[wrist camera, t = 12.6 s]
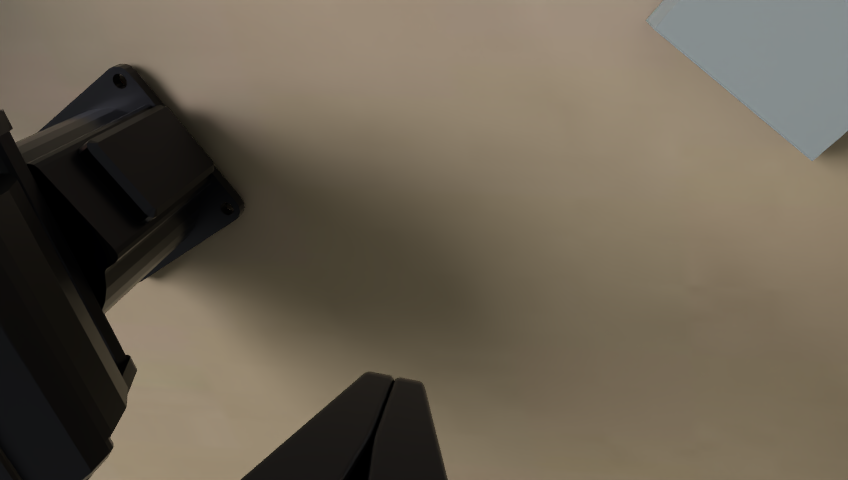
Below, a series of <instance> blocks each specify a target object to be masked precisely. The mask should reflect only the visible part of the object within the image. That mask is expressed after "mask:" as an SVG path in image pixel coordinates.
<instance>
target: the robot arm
mask: <svg viewBox="0 0 848 480" xmlns="http://www.w3.org/2000/svg"><path fill="white" fill-rule="evenodd" d="M120 74H121V75H123V76H124V77H125V79H126V81H127V86H126V85H124V84H123V83H122V82H121V80H120ZM12 129H13V128H12V126H11V124H10V122H9V120H8V118H7V116H6V114H5V112H4V110H3V109H2V110H0V480H88V479H89V478H90V477H91V476H92V474H93V473H94V472H95V471H96V470H97V469H98V468H99V467H100V465H101V464H102V463H103V462H104V461H105V460H106V459H107V458H108V456H109V454H110V452H111V450H112V449H113V442H112V440H111V438H110V437H111V434H112V433H113V431H114V429H115V427H116V425H117V424H118V422H119V420H120V418H121V416H122V414H123V413H124V411H125V409H126V406H127V394H128V392H129V389H130V387H131V384H132V382H133V379H134V377H135V374H136V372H137V368H136V366H135V365H134V363H133V361H132V359H131V357H130V356H129V355H125V353H124V351H123V349H122V347H121V345H120V343H119V341H118V339H117V338H116V336H115V334H114V332H113V330H112V328H111V326H110V324H109V322H108V320H107V318H106V316H105V313H106V312H107V311H108V310H109V309H110V308H111V307H112V306H114V305H115V304H116V303H117V302H118V301H119V300H120V299H121V298H122V297H123V296H124V295H125V294H126V293H128V292H129V291H130V290H131V289H132V288H133V287H134V286H135V285H136V284H137V283H138V282H141V281H143V280H144V279H146V278H147V277H149V276H150V275H152V274H153V273H155V272H156V271H158V270H159V269H161V268H162V267H164V266H165V265H167V264H169V263H170V262H172V261H173V260H175V259H176V258H178V257H179V256H181V255H182V254H184V253H185V252H187V251H188V250H190V249H192V248H193V247H195V246H196V245H198V244H199V243H201V242H202V241H204V240H205V239H207V238H208V237H210V236H211V235H213V234H215V233H216V232H218V231H219V230H221V229H222V228H224V227H225V226H227V225H228V224H230V223H231V222H233V221H234V220H236V219H237V218H238V217H239V216H240V215H241V214H242V213H243V211H244V208H245V207H244V202H243V200H242V199H241V197H240V196H239V195H238V194H237V192H236V191H235V190H234V189H233V188H232V186H231V185H230V184H229V183H228V182H227V180H226V179H225V178H224V177H223V175H222V174H221V173H220V172H219V171H218V169H217V168H216V167H215V166H214V165H213V161H212V160H211V159H210V158H209V157H208V155H207V154H206V153H205V152H204V150H203V149H202V148H201V147H200V146H199V144H198V143H197V142H196V141H195V140H194V138H193V137H192V136H191V135H190V134H189V132H188V131H187V130H186V129H185V127H184V126H183V125H182V124H181V123H180V121H179V120H178V119H177V118H176V117H175V115H174V114H173V113H172V112H171V111H170V109H169V108H168V107H166V106H165V105H164V104H163V103H162V102H161V100H160V99H159V98H158V97H157V96H156V94H155V93H154V92H153V91H152V90H151V88H150V87H149V86H148V85H147V83H146V82H145V81H144V80H143V79H142V77H141V76H140V75H139V74H138V73H137V71H136V70H135V69H134V68H132V67H131V66H129V65H127V64H119V65H116V66H114V67H112V68H110V69H108V70H107V71H106V72H105V73H104V74H103V75H102V76H100V77H99V78H98V79H97V80H96V81H95V82H94V83H93V84H91V85H90V86H89V87H88V88H87V89H86V90H85V91H84V92H83V93H81V94H80V95H79V96H78V97H77V98H76V99H75V100H74V101H72V102H71V103H70V104H69V105H68V106H67V107H66V108H65V109H63V110H62V111H61V112H60V113H59V114H58V115H57V116H56V117H54V118H53V119H52V120H51V121H50V122H49V123H48V124H47V125H45V126H44V127H43V128H42V129H41V130H40V131H39V132H38V133H36V134H34V135H31V136H29V137H27V138H25V139H22V140H20V141H18V142H16V143H15V141H14V139H13V137H12V135H11V133H10V130H12ZM225 202H226V203H229V204H231V205H232V207H233V209H234V211H233V210H229V209H228V208H227V207H226V205H225ZM241 480H448V479H447V475H446V471H445V467H444V463H443V459H442V455H441V451H440V447H439V443H438V439H437V435H436V431H435V427H434V423H433V419H432V415H431V411H430V407H429V402H428V398H427V394H426V390H425V387H424V385H423V383H422V382H420V381H415V380H410V379H405V378H396V379H395V381H394V379H393V377H392V376H390V375H385V374H379V373H374V372H366V373H364V374H363V375H362V376H361V377H359V378H358V379H357V380H356V381H355V382H354V383H352V384H351V385H350V386H349V387H348V388H347V389H345V390H344V391H343V392H342V393H341V394H340V395H338V396H337V397H336V398H335V399H334V400H333V401H332V402H330V403H329V404H328V405H327V406H326V407H325V408H323V409H322V410H321V411H320V412H319V413H318V414H316V415H315V416H314V417H313V418H312V419H311V420H309V421H308V422H307V423H306V424H305V425H304V426H302V427H301V428H300V429H299V430H298V431H297V432H296V433H294V434H293V435H292V436H291V437H290V438H289V439H287V440H286V441H285V442H284V443H283V444H282V445H280V446H279V447H278V448H277V449H276V450H275V451H273V452H272V453H271V454H270V455H269V456H268V457H266V458H265V459H264V460H263V461H262V462H261V463H260V464H258V465H257V466H256V467H255V468H254V469H253V470H251V471H250V472H249V473H248V474H247V475H246V476H244V477H243V478H242V479H241Z"/></svg>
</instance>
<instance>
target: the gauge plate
mask: <svg viewBox="0 0 848 480" xmlns="http://www.w3.org/2000/svg"><path fill="white" fill-rule="evenodd" d="M646 21H647V22H648V24H649V25H650V26H651V27H652V28H653V29H654V30H655V31H657V32H658V33H659V34H660V35H661V36H663V37H664V38H665V39H666V40H667V41H669V42H670V43H671V44H672V45H673V46H675V47H676V48H677V49H678V50H679V51H681V52H682V53H683V54H684V55H685V56H687V57H688V58H689V59H690V60H691V61H693V62H694V63H695V64H696V65H697V66H699V67H700V68H701V69H702V70H703V71H705V72H706V73H707V74H708V75H709V76H711V77H712V78H713V79H714V80H715V81H717V82H718V83H719V84H720V85H721V86H723V87H724V88H725V89H726V90H727V91H729V92H730V93H731V94H732V95H733V96H735V97H736V98H737V99H738V100H739V101H741V102H742V103H743V104H744V105H745V106H747V107H748V108H749V109H750V110H751V111H753V112H754V113H755V114H756V115H757V116H759V117H760V118H761V119H762V120H763V121H765V122H766V123H767V124H768V125H769V126H771V127H772V128H773V129H774V130H775V131H777V132H778V133H779V134H780V135H781V136H783V137H784V138H785V139H786V140H787V141H788V142H790V143H791V144H792V145H793V146H794V147H796V148H797V149H798V150H799V151H800V152H802V153H803V154H804V155H805V156H806V157H808V158H809V159H810V160H811V161H813V160H814V159H815V158H817V157H818V156H819V155H820V154H821V153H822V152H824V151H825V150H826V149H827V148H828V147H830V146H831V145H832V144H833V143H834V142H835V141H837V140H838V139H839V138H840V137H841V136H842V135H844V134H845V133H846V132H847V131H848V0H663V1H662V3H661V4H660V5H659V6H658V7H657V8H656V9H655V11H654V12H653V13H652V14H651V15H650V16H649V17H648V19H647V20H646Z"/></svg>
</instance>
